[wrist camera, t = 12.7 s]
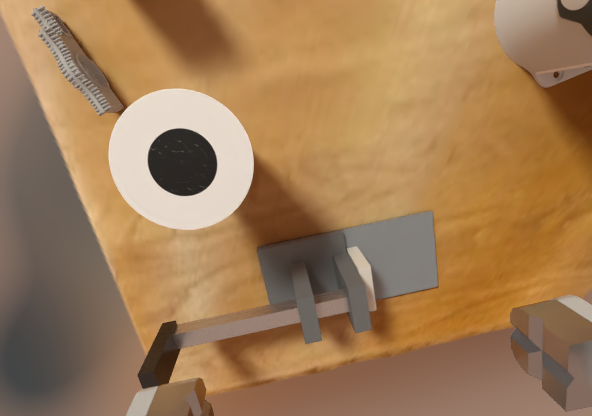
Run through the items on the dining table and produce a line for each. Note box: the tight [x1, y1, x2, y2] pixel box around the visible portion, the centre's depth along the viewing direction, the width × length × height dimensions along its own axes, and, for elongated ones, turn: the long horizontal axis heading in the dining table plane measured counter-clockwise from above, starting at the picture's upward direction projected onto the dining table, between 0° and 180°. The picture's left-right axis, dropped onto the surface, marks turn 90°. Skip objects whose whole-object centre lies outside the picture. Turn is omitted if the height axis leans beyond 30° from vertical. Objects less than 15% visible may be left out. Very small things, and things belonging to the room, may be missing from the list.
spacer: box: [346, 246, 377, 312], centre depth 46 cm, size 2×6×6 cm, turn 11°
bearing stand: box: [257, 230, 372, 344], centre depth 44 cm, size 12×12×10 cm
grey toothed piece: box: [31, 6, 124, 116], centre depth 37 cm, size 12×2×6 cm, turn 31°
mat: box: [342, 211, 438, 300], centre depth 49 cm, size 13×12×1 cm
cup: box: [109, 89, 254, 230], centre depth 34 cm, size 11×11×18 cm
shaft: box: [138, 289, 350, 389], centre depth 38 cm, size 23×3×8 cm, turn 101°
